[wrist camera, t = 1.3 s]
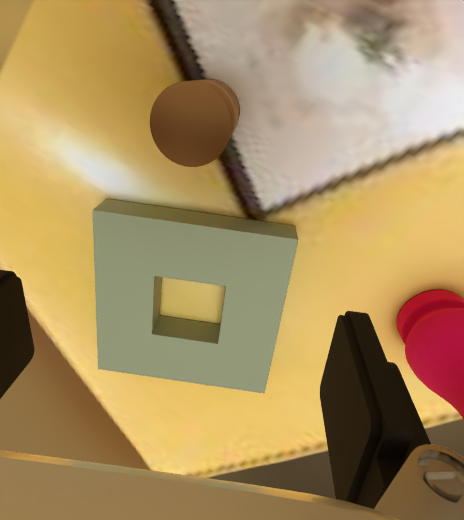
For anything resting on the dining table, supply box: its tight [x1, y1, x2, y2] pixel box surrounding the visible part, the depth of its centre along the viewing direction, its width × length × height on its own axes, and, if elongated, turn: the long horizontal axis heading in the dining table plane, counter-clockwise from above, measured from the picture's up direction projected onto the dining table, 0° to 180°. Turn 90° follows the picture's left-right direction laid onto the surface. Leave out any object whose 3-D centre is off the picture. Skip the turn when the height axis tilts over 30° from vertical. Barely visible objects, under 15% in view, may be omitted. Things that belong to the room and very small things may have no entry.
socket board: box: [93, 199, 298, 393], centre depth 35 cm, size 16×16×3 cm
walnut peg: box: [150, 79, 240, 167], centre depth 25 cm, size 4×4×9 cm
